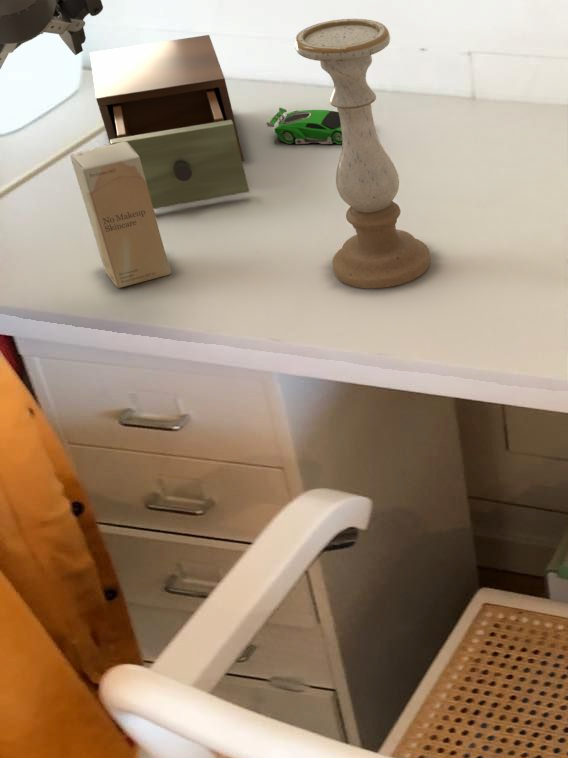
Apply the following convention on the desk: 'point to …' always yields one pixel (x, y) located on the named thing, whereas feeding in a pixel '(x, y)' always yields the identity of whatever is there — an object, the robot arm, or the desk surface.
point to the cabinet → (157, 75)
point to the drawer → (182, 147)
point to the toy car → (308, 126)
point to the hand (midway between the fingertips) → (27, 71)
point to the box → (121, 213)
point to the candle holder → (363, 159)
